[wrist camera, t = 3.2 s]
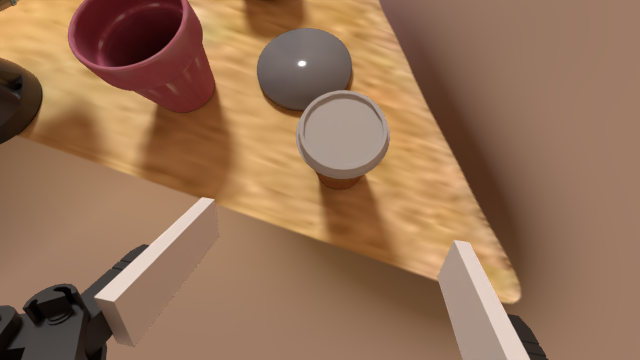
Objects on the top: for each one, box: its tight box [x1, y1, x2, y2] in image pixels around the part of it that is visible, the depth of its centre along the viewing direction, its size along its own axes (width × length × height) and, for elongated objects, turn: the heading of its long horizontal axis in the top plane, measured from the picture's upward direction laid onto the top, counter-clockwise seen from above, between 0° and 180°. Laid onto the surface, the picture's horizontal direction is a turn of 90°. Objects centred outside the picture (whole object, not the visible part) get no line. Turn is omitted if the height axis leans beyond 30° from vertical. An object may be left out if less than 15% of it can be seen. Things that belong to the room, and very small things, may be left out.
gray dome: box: [257, 28, 352, 111], centre depth 41 cm, size 15×15×1 cm
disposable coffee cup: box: [296, 90, 390, 190], centre depth 31 cm, size 10×10×12 cm
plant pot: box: [68, 0, 215, 113], centre depth 35 cm, size 14×14×13 cm
